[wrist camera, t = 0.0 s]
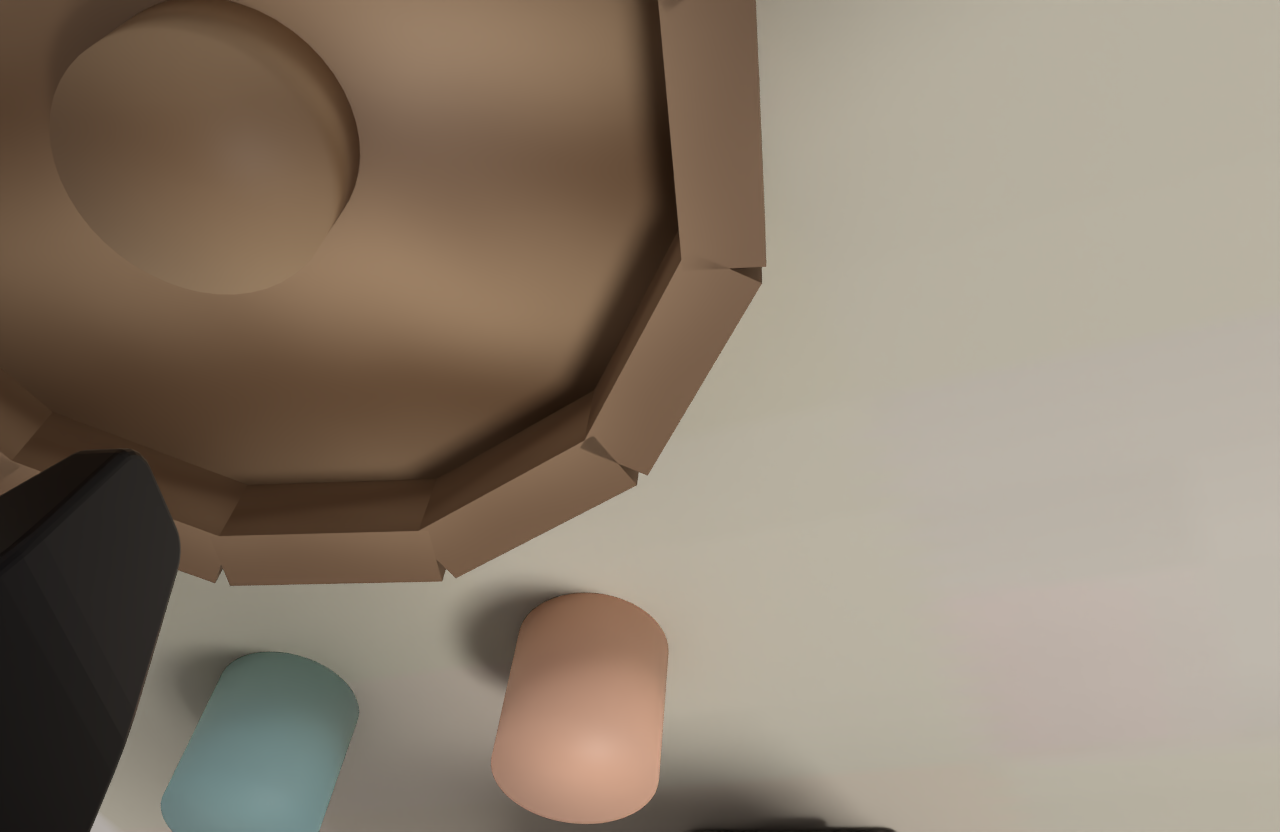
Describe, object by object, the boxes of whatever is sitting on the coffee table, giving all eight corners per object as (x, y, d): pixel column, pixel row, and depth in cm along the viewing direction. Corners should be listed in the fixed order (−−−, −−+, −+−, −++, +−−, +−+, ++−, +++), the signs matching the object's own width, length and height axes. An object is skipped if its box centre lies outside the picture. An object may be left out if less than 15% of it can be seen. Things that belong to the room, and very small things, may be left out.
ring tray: (777, 497, 27) (779, 574, 25) (-12, 519, 29) (-71, 591, 27) (728, -649, 16) (725, -685, 13) (-557, -457, 18) (-731, -463, 16)
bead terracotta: (674, 696, 31) (666, 824, 28) (530, 698, 32) (506, 823, 29) (661, 590, 29) (650, 715, 26) (506, 593, 30) (476, 717, 26)
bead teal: (373, 745, 34) (333, 868, 30) (243, 746, 34) (190, 867, 31) (339, 650, 31) (292, 772, 28) (200, 652, 32) (138, 772, 29)
